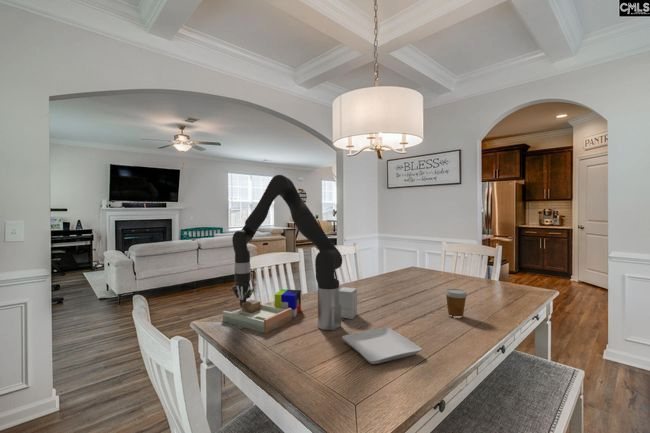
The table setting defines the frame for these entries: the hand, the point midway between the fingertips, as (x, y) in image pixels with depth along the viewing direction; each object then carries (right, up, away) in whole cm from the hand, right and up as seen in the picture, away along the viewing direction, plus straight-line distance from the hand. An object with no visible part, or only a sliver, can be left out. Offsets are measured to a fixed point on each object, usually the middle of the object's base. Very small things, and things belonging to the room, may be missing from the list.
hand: (243, 306), depth 148 cm
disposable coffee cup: (+101, -4, -3) cm, 102 cm away
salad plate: (+60, -5, -38) cm, 71 cm away
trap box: (+9, -4, -9) cm, 13 cm away
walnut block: (+5, -1, -3) cm, 6 cm away
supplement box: (+50, -4, -3) cm, 51 cm away
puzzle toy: (+22, -4, +2) cm, 22 cm away
